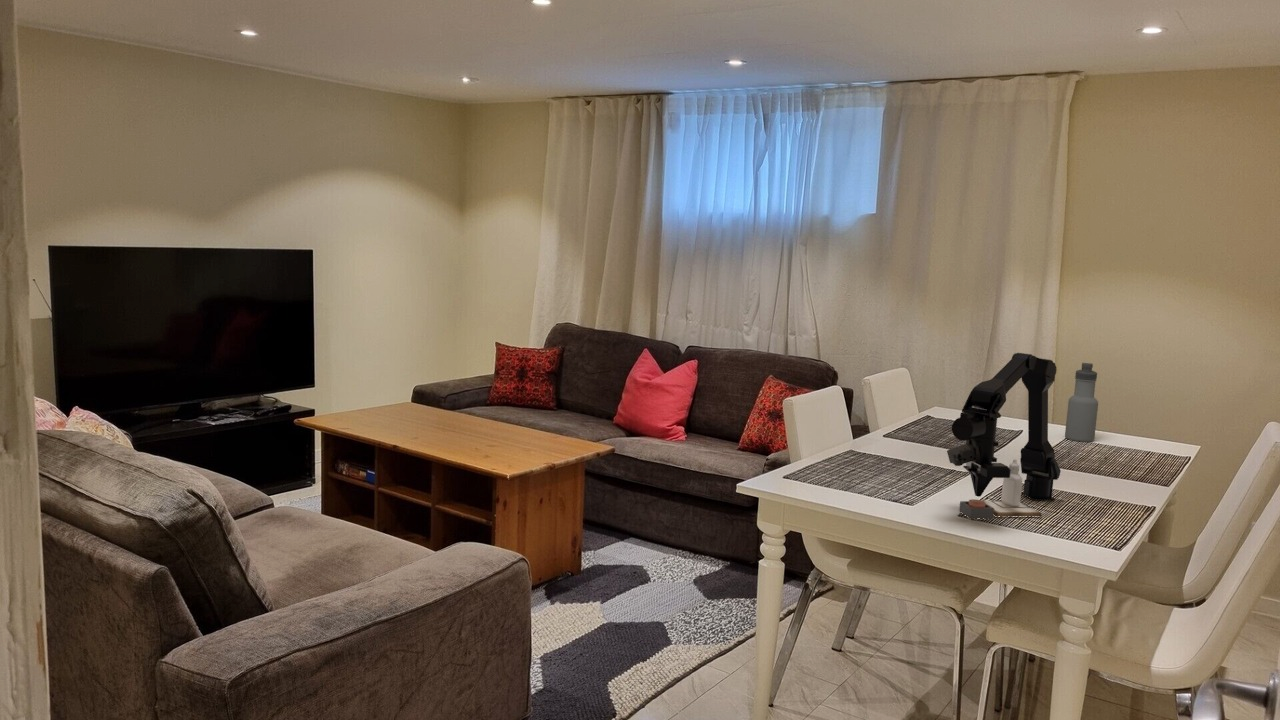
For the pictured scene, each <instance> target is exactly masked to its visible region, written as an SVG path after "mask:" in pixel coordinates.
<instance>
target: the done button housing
mask: <svg viewBox="0 0 1280 720" xmlns="http://www.w3.org/2000/svg"><path fill="white" fill-rule="evenodd" d="M958 509H959V511H960V512H962V513H963V514H965V515H966V516H968V517H969V518H971V519H973V518H975V519H977V518H980V519H983V518H985V519H988V518H989V519H993V520H994V516H993V513H994V508H993V507H991V506H989V505H988V504H986V503H985V508H973V507H971V506H969V500H968V501H967V500H966V501H964V500H961V501H960V502H959V508H958ZM959 511H958V512H959Z"/></svg>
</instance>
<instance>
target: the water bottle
mask: <svg viewBox="0 0 1280 720" xmlns="http://www.w3.org/2000/svg"><path fill="white" fill-rule="evenodd" d="M1093 367H1094V364H1093V363H1089V362H1088V363H1087V362H1082V363H1081V369H1077V370H1075V376H1074V379H1075V384H1074V392H1073V395H1072V396H1070V397H1069V398H1068V402H1067V411H1066V412H1067V413H1066V421H1065V430H1064V437H1065V438H1066V439H1067V440H1070V441H1073V442H1079V441H1080V442H1081V443H1082V442H1083V443H1091V442H1093V441H1094V440H1095V439H1096V438H1095V437H1096V436H1095V435H1096V427H1097V420H1098V409H1099V400H1098V399H1097V398H1096V397H1095V389H1096V382H1097V380H1098V379H1097V378H1098V372H1096V371H1094V370H1093ZM1080 442H1079V443H1080Z"/></svg>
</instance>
